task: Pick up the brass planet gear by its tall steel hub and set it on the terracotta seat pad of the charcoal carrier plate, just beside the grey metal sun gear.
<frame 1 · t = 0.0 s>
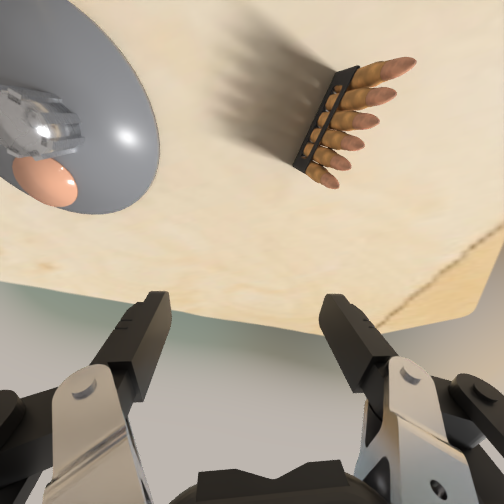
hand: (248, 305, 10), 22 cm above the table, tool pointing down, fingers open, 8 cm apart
carrier plate: (60, 123, 23), on the table
ammunition clip: (317, 127, 25), on the table
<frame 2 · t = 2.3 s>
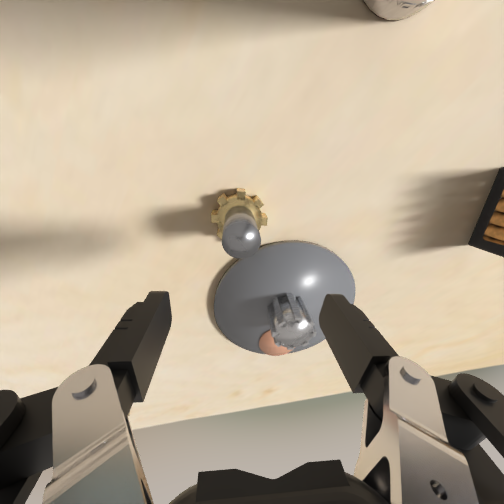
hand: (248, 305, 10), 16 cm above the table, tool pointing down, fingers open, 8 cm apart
carrier plate: (284, 303, 31), on the table
planet gear: (239, 215, 24), on the table
ammunition clip: (487, 208, 27), on the table
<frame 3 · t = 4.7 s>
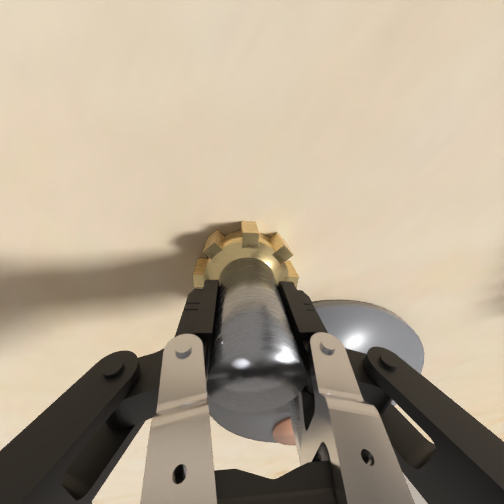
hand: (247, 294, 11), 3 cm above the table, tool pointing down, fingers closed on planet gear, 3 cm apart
carrier plate: (311, 381, 21), on the table
planet gear: (245, 265, 14), on the table, touching gripper
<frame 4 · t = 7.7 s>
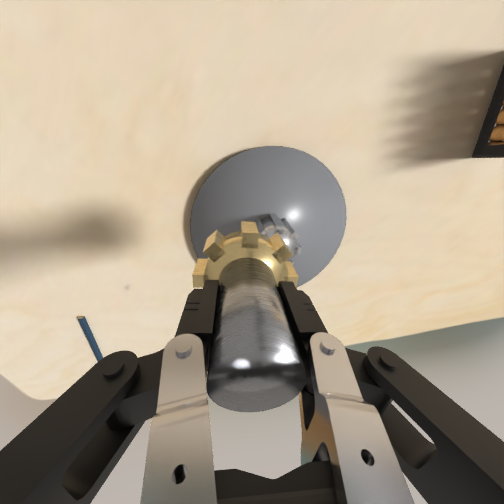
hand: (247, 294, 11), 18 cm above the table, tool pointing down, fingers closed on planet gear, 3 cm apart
pencil: (96, 343, 37), on the table
carrier plate: (268, 231, 29), on the table
planet gear: (244, 265, 14), point 15 cm above the table, touching gripper
ammunition clip: (493, 108, 24), on the table
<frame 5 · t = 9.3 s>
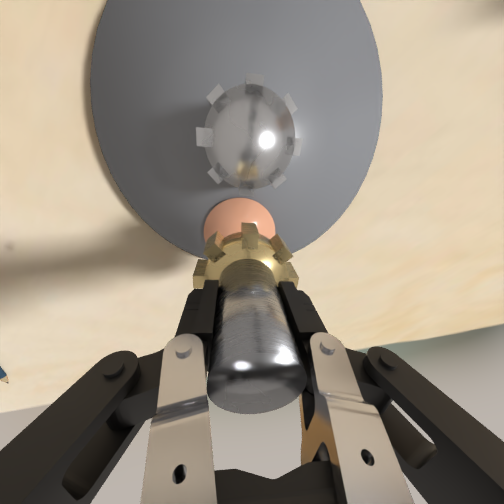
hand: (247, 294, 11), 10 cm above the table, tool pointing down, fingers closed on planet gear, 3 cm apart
carrier plate: (244, 145, 16), on the table
planet gear: (245, 266, 14), point 7 cm above the table, touching gripper
when the fingers open (5 cm above the table, at t = 10.8 s): planet gear stays where it is, resting on carrier plate.
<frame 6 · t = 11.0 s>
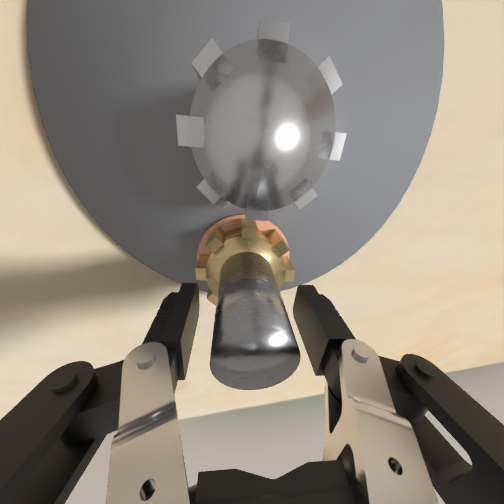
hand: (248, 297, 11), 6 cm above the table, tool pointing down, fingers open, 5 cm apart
carrier plate: (250, 145, 12), on the table
planet gear: (244, 260, 14), point 1 cm above the table, touching carrier plate
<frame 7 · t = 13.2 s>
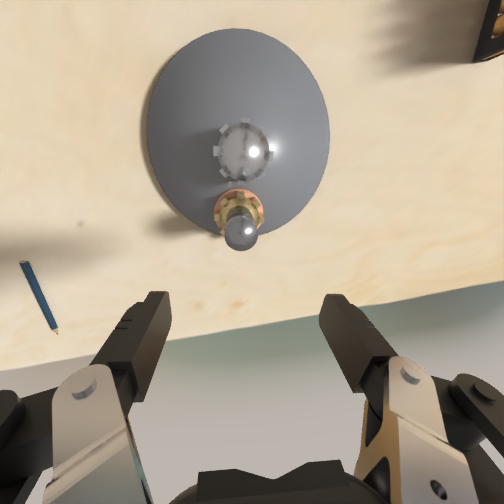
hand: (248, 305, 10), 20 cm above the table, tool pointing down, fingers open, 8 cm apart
pencil: (46, 299, 32), on the table
carrier plate: (241, 154, 25), on the table
planet gear: (239, 214, 27), point 1 cm above the table, touching carrier plate
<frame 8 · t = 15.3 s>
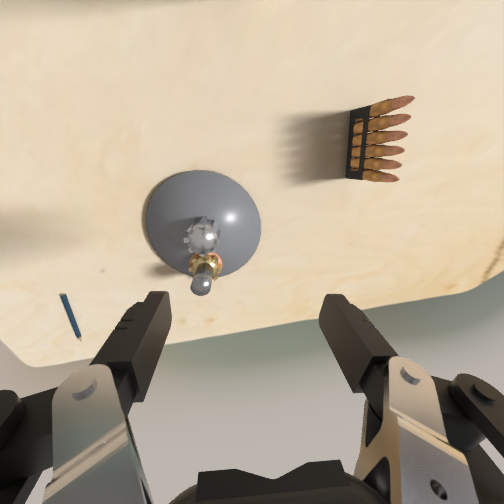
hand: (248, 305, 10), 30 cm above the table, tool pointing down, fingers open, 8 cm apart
pencil: (74, 317, 47), on the table
carrier plate: (206, 229, 39), on the table
planet gear: (206, 264, 41), point 1 cm above the table, touching carrier plate
ammunition clip: (352, 145, 35), on the table
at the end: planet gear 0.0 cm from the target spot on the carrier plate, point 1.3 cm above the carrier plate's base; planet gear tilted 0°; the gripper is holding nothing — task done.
